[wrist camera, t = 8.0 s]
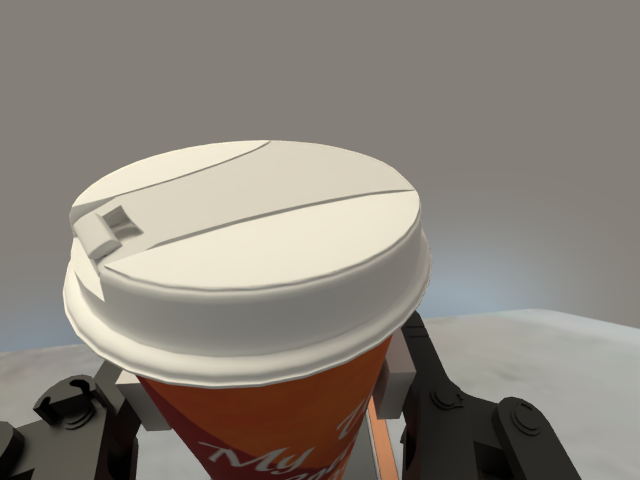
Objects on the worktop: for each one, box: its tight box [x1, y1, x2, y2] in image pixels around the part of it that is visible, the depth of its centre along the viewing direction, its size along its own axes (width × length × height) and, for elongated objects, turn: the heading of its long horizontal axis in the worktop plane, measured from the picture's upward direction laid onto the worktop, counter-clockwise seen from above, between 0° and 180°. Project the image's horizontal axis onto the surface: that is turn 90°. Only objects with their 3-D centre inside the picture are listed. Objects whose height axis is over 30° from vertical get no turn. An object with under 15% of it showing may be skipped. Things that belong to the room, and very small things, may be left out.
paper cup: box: [63, 140, 432, 480], centre depth 10 cm, size 8×8×14 cm
